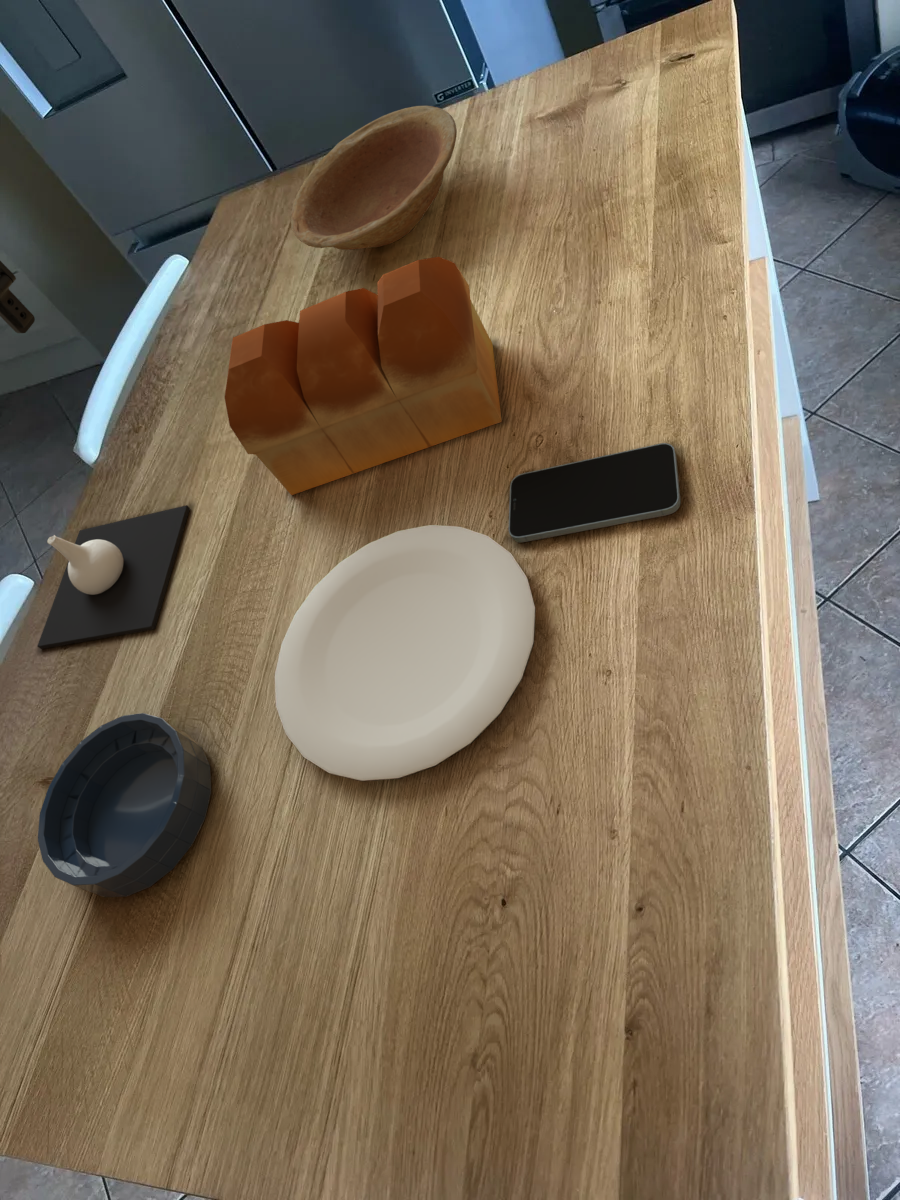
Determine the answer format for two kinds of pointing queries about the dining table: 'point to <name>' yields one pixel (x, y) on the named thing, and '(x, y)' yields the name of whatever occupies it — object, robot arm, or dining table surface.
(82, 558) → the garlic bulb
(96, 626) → the mat
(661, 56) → the dining table surface
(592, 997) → the dining table surface
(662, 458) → the smartphone
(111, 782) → the glazed bowl
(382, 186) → the bowl
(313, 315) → the bread
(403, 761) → the plate
